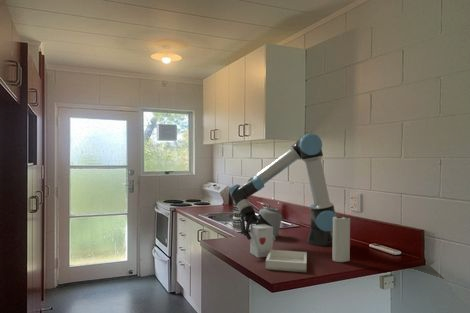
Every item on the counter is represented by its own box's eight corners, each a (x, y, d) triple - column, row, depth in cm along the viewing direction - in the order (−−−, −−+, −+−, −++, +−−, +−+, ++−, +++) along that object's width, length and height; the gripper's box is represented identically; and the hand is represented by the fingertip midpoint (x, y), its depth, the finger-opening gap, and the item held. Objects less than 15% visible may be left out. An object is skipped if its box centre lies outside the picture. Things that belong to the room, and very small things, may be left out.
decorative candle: (229, 228, 237) (229, 193, 237) (239, 226, 243) (239, 192, 243) (237, 230, 230) (238, 194, 230) (247, 229, 236) (248, 193, 236)
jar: (279, 233, 225) (279, 195, 225) (288, 238, 211) (288, 198, 211) (252, 234, 220) (252, 196, 220) (259, 240, 206) (260, 199, 206)
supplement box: (257, 258, 169) (257, 228, 169) (249, 253, 177) (249, 224, 177) (273, 256, 173) (273, 226, 173) (264, 251, 181) (265, 223, 181)
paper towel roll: (330, 260, 166) (330, 217, 166) (336, 258, 171) (336, 215, 171) (343, 263, 161) (344, 219, 161) (349, 261, 165) (350, 217, 165)
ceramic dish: (306, 260, 166) (306, 252, 166) (306, 272, 149) (306, 263, 149) (270, 257, 170) (270, 249, 170) (265, 269, 153) (265, 260, 153)
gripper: (259, 211, 195) (277, 242, 183) (224, 215, 180) (242, 250, 168) (265, 203, 191) (285, 235, 179) (230, 207, 175) (249, 241, 164)
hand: (264, 242), depth 173 cm, fingers open, 13 cm apart
